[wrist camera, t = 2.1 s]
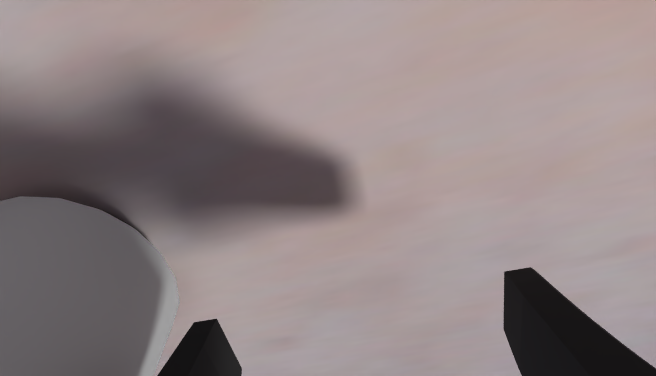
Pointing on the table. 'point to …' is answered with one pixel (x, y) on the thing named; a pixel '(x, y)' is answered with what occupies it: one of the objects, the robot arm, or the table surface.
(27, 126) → the table surface
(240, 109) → the table surface
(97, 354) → the can
